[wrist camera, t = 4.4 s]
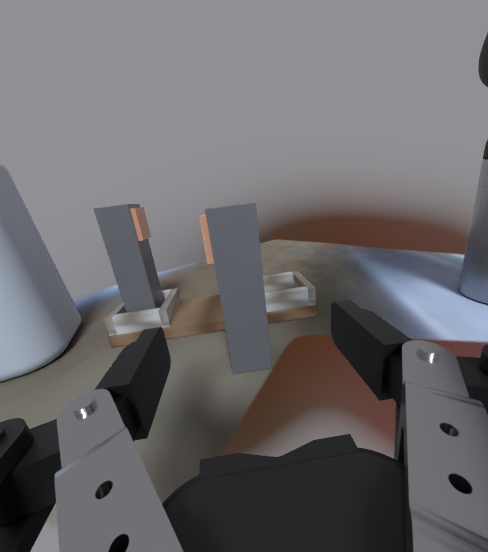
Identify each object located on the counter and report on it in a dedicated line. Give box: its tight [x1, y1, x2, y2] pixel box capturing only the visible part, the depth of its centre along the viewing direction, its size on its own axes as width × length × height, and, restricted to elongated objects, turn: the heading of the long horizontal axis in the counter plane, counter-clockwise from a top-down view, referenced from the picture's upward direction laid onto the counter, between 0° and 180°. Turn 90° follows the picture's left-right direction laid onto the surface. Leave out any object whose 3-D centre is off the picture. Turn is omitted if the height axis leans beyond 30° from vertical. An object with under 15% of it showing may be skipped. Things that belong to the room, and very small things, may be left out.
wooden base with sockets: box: [104, 271, 317, 347], centre depth 35 cm, size 28×9×4 cm, turn 95°
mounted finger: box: [94, 204, 164, 313], centre depth 32 cm, size 5×4×16 cm
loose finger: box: [199, 203, 272, 374], centre depth 22 cm, size 5×4×16 cm
